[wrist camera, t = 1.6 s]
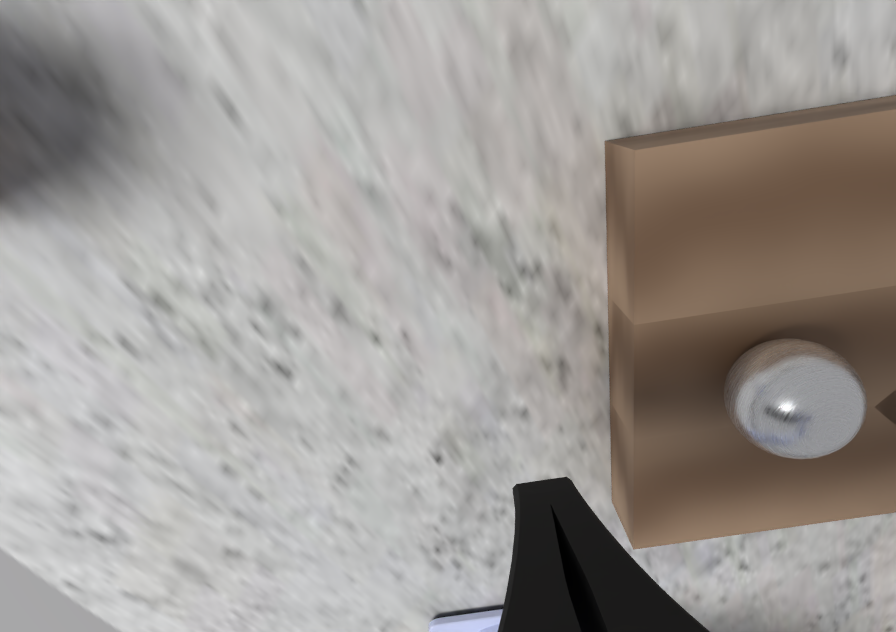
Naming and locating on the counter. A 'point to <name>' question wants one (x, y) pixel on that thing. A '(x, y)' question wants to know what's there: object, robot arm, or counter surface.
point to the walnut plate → (747, 313)
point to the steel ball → (795, 398)
